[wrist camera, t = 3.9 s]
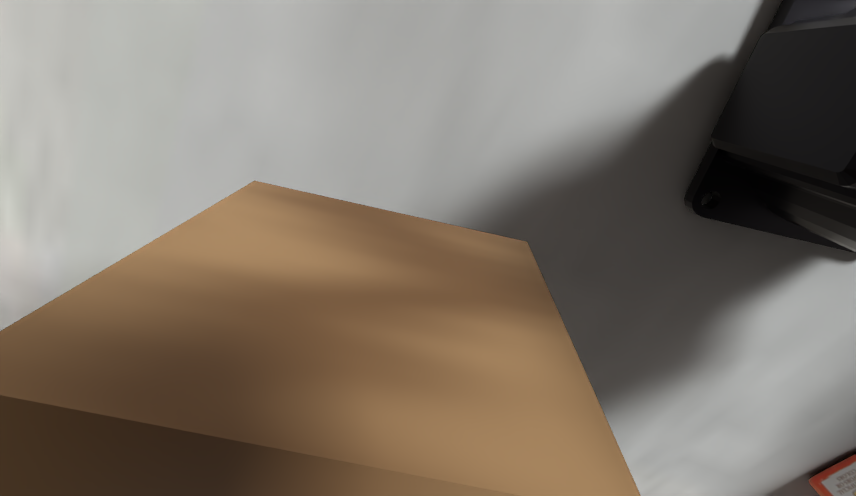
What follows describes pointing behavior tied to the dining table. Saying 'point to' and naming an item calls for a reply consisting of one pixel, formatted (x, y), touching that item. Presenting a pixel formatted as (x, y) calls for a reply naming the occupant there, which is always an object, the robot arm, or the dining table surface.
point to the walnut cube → (305, 366)
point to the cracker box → (837, 479)
